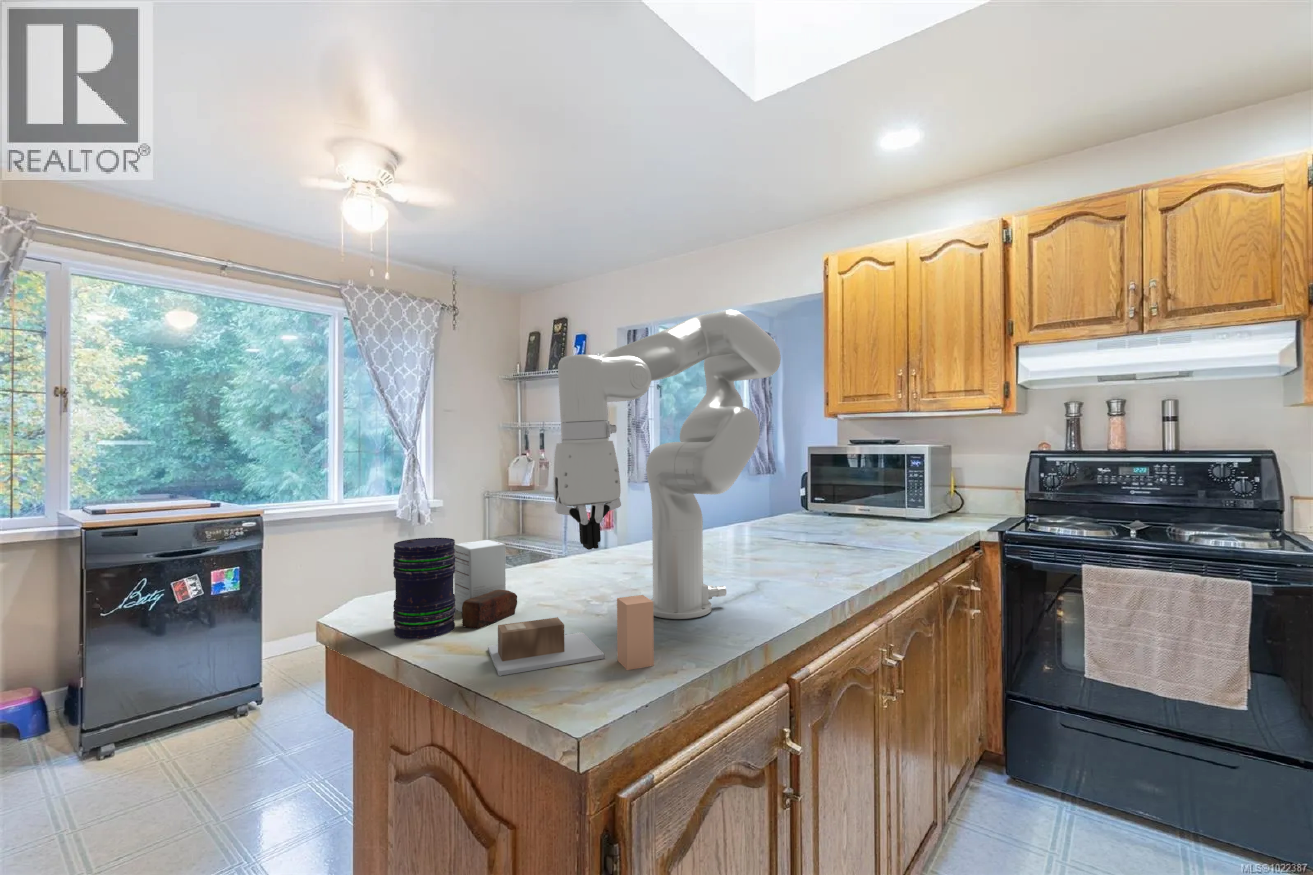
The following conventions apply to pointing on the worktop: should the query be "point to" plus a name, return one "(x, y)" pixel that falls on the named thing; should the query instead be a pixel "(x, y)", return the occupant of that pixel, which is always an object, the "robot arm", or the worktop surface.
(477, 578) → the supplement box
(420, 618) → the dark blue ribbed cylinder
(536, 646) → the brown cardboard box
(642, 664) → the terracotta block
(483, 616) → the brick
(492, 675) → the worktop surface
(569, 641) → the mat
